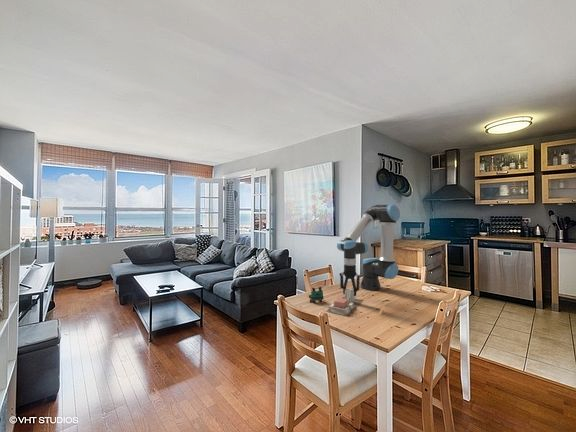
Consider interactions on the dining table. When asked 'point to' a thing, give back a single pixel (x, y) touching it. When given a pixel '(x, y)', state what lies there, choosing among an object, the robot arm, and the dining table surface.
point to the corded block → (344, 300)
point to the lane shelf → (356, 303)
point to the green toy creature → (316, 295)
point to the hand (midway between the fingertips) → (349, 299)
